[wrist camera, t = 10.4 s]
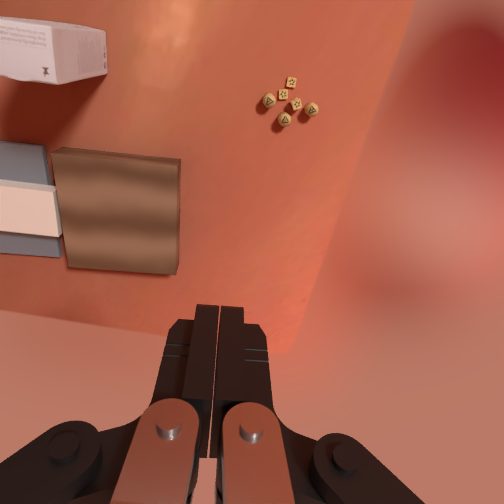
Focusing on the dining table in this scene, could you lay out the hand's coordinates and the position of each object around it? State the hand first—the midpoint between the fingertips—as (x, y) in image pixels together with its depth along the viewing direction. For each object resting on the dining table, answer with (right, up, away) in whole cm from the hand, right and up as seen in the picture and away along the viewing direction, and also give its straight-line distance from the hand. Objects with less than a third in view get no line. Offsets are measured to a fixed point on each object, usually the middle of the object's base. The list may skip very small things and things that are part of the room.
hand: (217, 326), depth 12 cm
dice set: (+5, +20, +30) cm, 37 cm away
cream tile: (-27, +8, +33) cm, 44 cm away
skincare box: (-17, +24, +26) cm, 40 cm away
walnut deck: (-15, +8, +35) cm, 39 cm away
